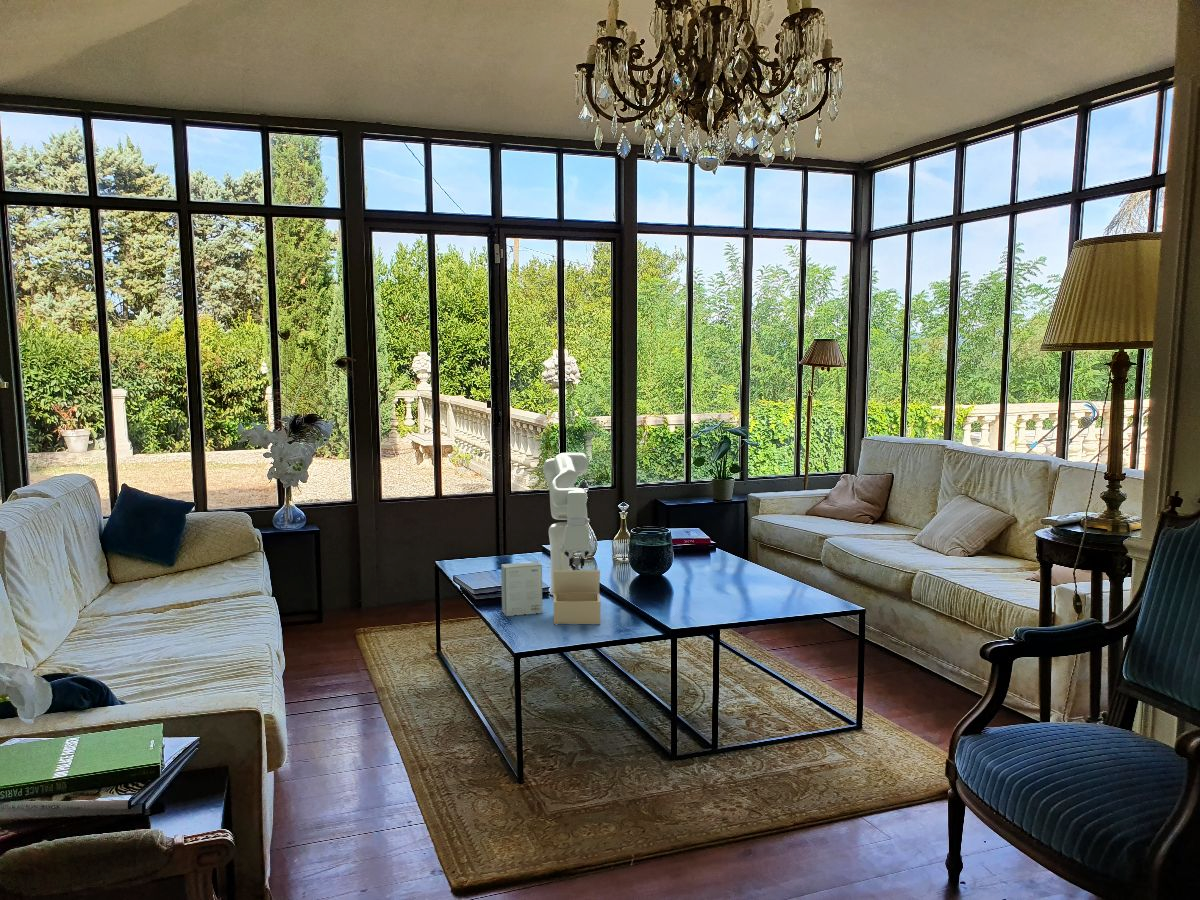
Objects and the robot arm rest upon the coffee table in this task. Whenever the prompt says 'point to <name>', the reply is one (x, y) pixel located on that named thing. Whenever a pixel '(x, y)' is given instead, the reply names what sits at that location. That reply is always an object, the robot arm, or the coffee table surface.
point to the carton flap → (576, 580)
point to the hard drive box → (521, 588)
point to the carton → (577, 608)
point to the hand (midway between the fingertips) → (576, 567)
